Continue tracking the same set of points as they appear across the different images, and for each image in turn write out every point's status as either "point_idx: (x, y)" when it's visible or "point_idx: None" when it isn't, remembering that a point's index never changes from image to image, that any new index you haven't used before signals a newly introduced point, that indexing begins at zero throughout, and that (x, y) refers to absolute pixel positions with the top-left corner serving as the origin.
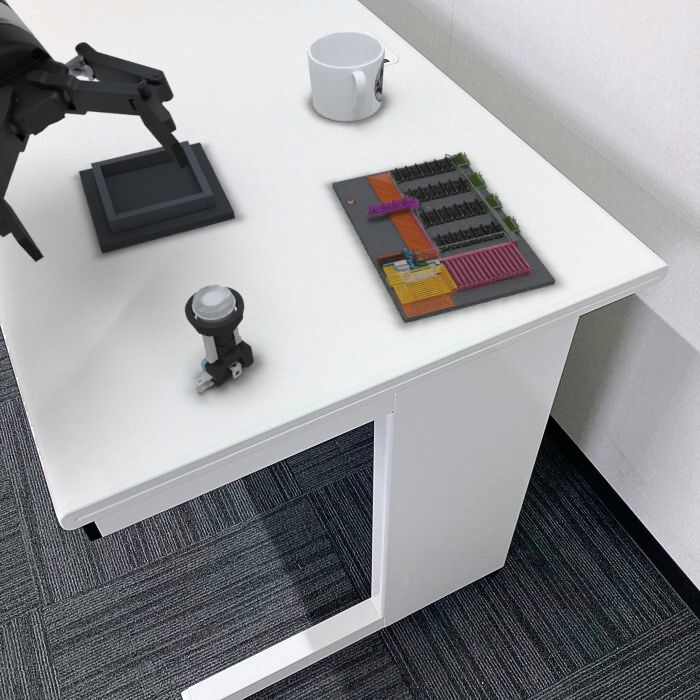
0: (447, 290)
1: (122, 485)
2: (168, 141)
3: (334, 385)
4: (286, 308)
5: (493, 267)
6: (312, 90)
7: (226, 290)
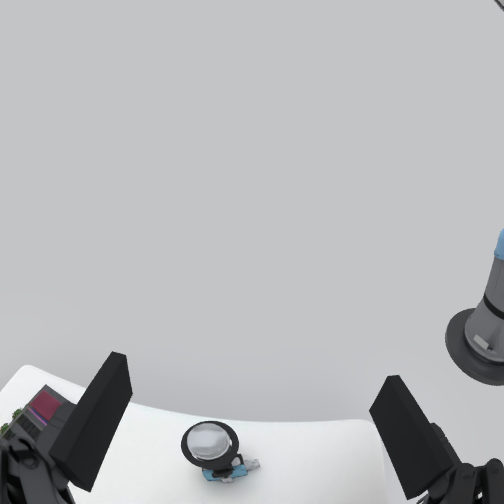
0: None
1: (338, 421)
2: (119, 360)
3: (175, 421)
4: (148, 490)
5: (49, 403)
6: None
7: (189, 439)
